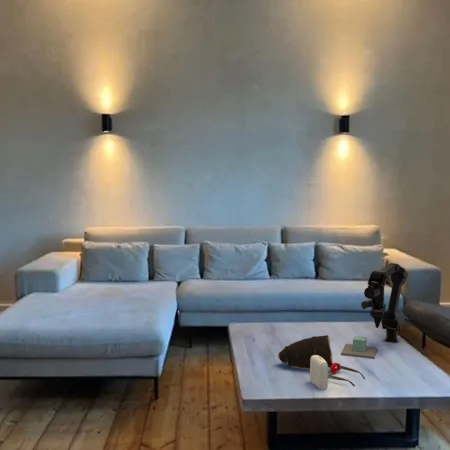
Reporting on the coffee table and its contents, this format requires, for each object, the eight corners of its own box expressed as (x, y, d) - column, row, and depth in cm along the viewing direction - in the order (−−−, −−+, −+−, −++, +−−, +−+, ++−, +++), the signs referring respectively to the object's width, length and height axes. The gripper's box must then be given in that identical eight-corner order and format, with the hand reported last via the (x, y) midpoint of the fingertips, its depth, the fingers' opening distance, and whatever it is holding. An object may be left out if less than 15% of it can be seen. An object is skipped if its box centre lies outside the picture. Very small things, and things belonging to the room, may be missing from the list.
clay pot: (275, 336, 250) (327, 328, 246) (281, 365, 253) (333, 358, 249) (274, 350, 236) (329, 342, 232) (280, 380, 239) (335, 373, 234)
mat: (345, 345, 274) (345, 343, 273) (377, 348, 268) (377, 346, 268) (340, 355, 259) (341, 353, 259) (374, 358, 253) (374, 356, 253)
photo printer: (329, 389, 216) (329, 360, 215) (319, 390, 215) (320, 361, 214) (317, 380, 226) (317, 352, 225) (308, 381, 225) (308, 353, 224)
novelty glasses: (336, 371, 238) (336, 360, 237) (366, 379, 228) (367, 367, 228) (321, 380, 227) (321, 369, 227) (352, 388, 218) (353, 377, 217)
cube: (354, 347, 267) (354, 336, 267) (366, 348, 265) (366, 337, 264) (352, 351, 261) (352, 339, 261) (364, 352, 259) (365, 340, 259)
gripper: (364, 290, 278) (363, 319, 279) (360, 298, 261) (359, 328, 262) (385, 292, 274) (385, 321, 275) (383, 299, 257) (382, 330, 258)
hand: (377, 325), depth 268 cm, fingers open, 9 cm apart
